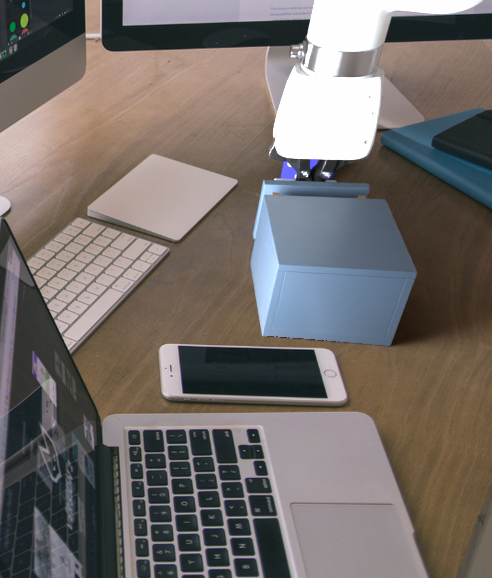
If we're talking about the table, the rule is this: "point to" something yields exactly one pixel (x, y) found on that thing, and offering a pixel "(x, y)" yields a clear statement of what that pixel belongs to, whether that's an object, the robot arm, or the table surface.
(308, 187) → the drawer
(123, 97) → the table surface
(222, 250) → the table surface
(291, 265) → the cabinet
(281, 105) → the robot arm
